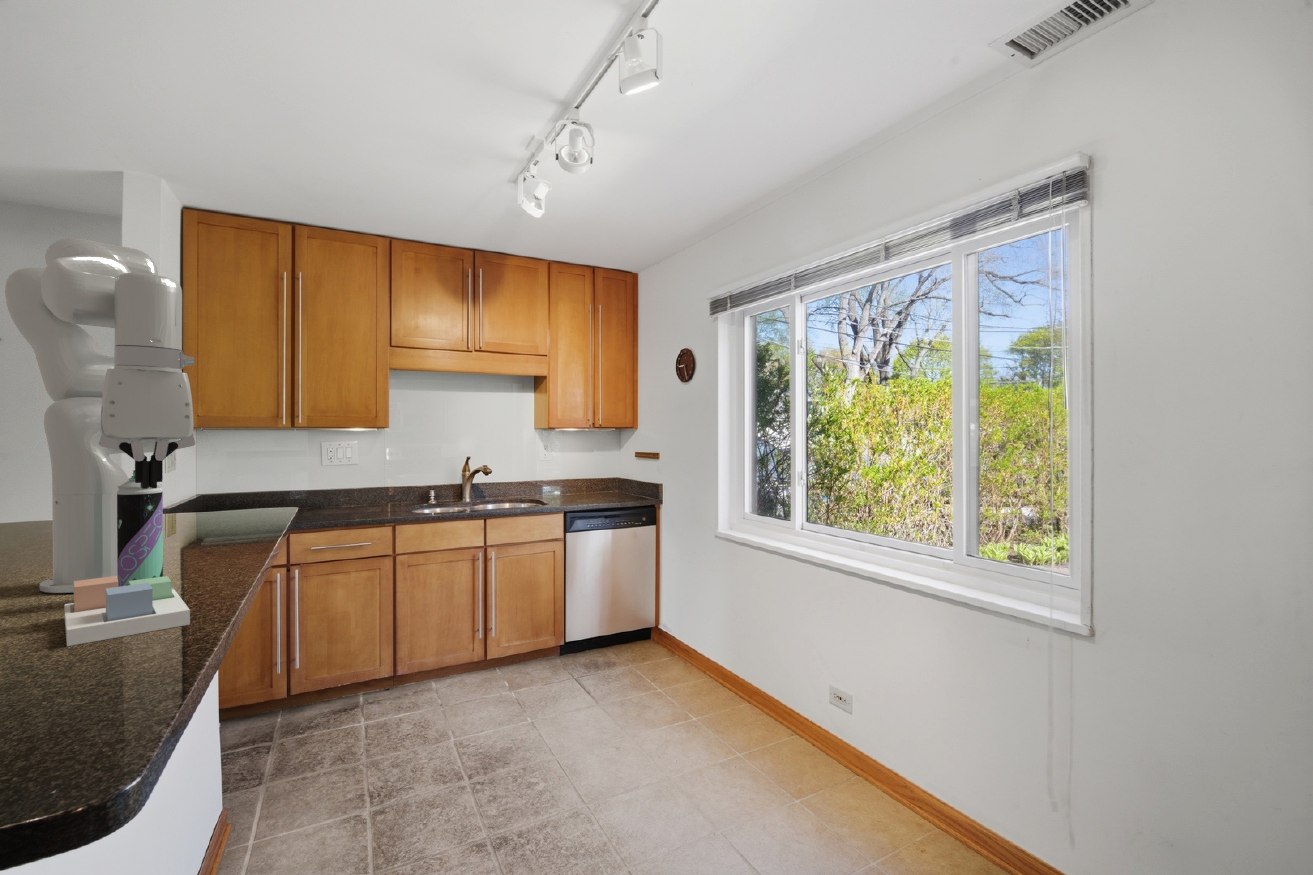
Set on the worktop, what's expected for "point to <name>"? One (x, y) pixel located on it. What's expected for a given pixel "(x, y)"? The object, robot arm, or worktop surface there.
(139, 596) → the slate key
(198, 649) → the worktop surface
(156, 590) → the sage key
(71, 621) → the key console
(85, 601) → the terracotta key
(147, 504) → the spray can
